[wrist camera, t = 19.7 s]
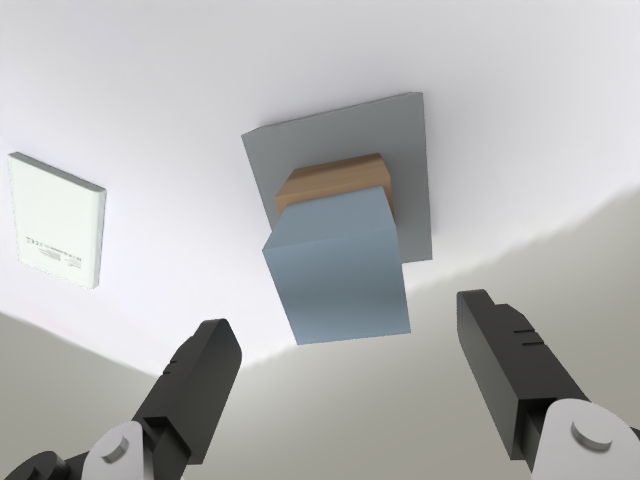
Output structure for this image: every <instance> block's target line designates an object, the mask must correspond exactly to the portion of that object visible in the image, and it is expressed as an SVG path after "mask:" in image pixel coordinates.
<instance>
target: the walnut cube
mask: <svg viewBox="0 0 640 480" xmlns="http://www.w3.org/2000/svg"><path fill="white" fill-rule="evenodd" d="M379 185H382V186H383V189H384V192H385V195H386V198H387V201H388V204H389V207H390V210H391V213H392V216H393V219H394V222H395V216H394V207H393V198H392V189H391V180H390V175H389V173H388V170H387V168H386V166H385V164H384V162H383V159H382V157H381V155H380V153H374V154H369V155H364V156H359V157H354V158H349V159H344V160H339V161H334V162H329V163H324V164H319V165H314V166H309V167H304V168H299V169H294V170H293V172H292V173H291V174H290V176H289V177H288V179H287V180H286V182H285V183H284V184H283V186H282V187H281V189H280V190H279V192H278V193H277V194H276V196H275V201H276V204H277V207H278V211H279V214H280V217H281V215H282V213H283V211H284V209H285V208H286V206H287V204H291V203H296V202H301V201H306V200H311V199H316V198H321V197H325V196H330V195H335V194H340V193H345V192H350V191H355V190H360V189H364V188H369V187H374V186H379Z"/></svg>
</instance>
